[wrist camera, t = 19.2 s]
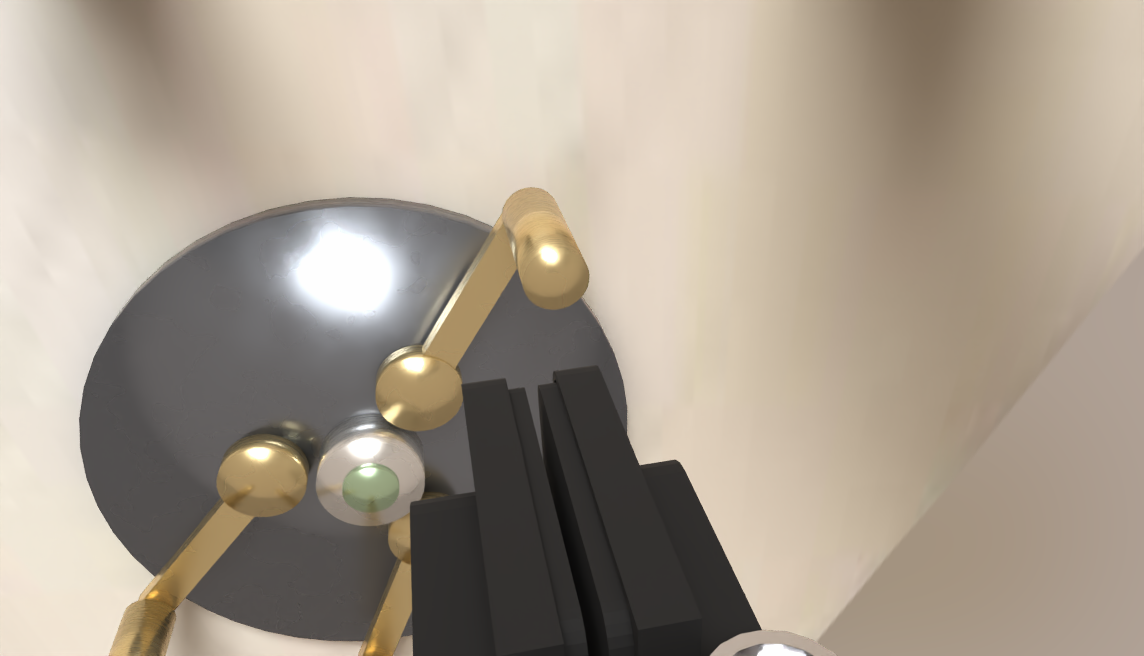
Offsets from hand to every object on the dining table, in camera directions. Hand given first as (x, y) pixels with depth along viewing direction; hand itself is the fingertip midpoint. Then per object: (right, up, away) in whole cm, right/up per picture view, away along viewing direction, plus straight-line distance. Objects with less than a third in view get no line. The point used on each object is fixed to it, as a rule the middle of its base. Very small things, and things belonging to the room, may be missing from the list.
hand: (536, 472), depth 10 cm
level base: (-10, -4, +32) cm, 33 cm away
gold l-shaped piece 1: (-17, -8, +31) cm, 36 cm away
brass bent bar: (-4, +3, +27) cm, 28 cm away
